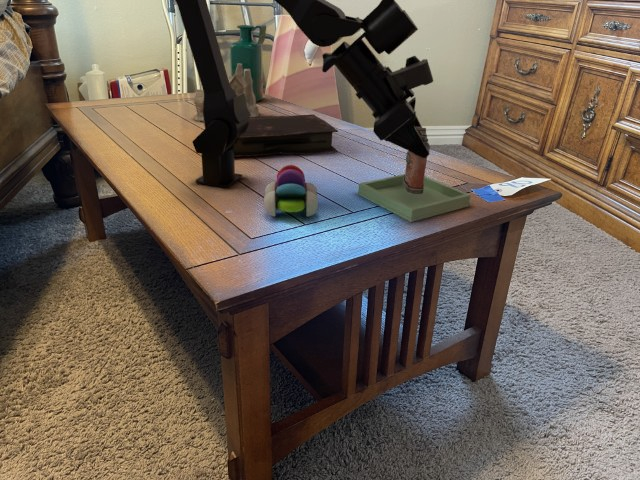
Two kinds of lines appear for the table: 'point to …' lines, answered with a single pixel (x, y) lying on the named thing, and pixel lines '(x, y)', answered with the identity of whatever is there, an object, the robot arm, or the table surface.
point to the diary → (285, 136)
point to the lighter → (415, 168)
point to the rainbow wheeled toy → (290, 193)
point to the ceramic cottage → (239, 87)
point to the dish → (414, 197)
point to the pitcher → (249, 56)
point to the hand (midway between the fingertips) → (426, 149)
